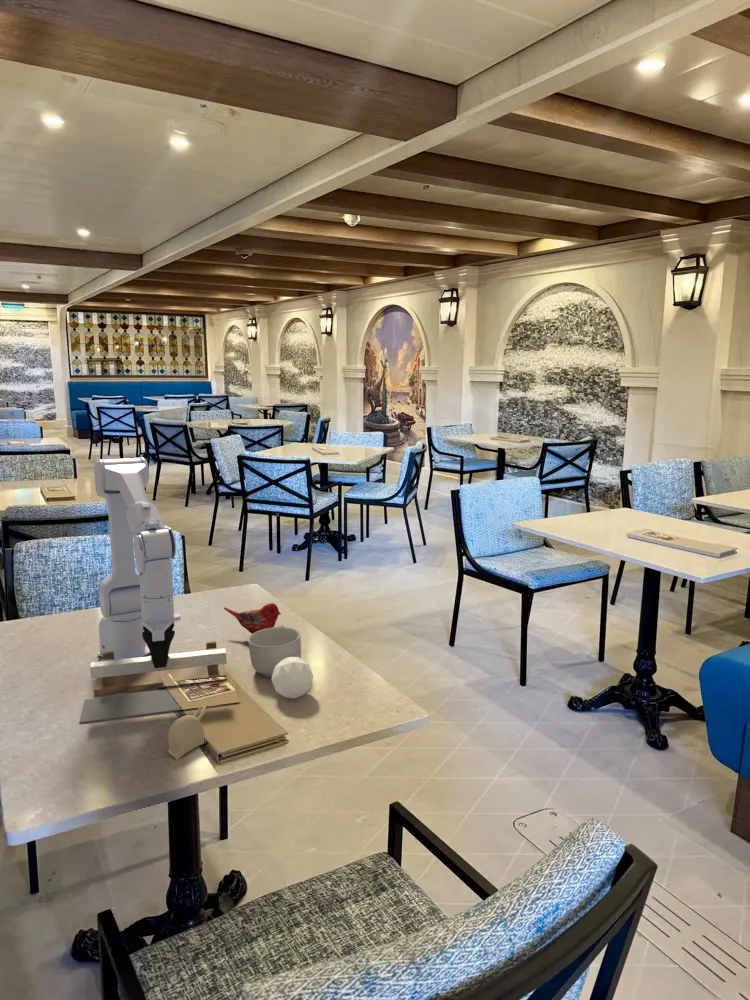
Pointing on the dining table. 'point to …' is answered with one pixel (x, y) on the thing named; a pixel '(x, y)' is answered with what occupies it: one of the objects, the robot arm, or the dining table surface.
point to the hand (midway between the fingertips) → (160, 664)
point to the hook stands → (155, 676)
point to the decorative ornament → (186, 734)
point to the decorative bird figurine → (257, 618)
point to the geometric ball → (292, 677)
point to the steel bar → (147, 665)
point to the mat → (127, 706)
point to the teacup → (273, 647)
